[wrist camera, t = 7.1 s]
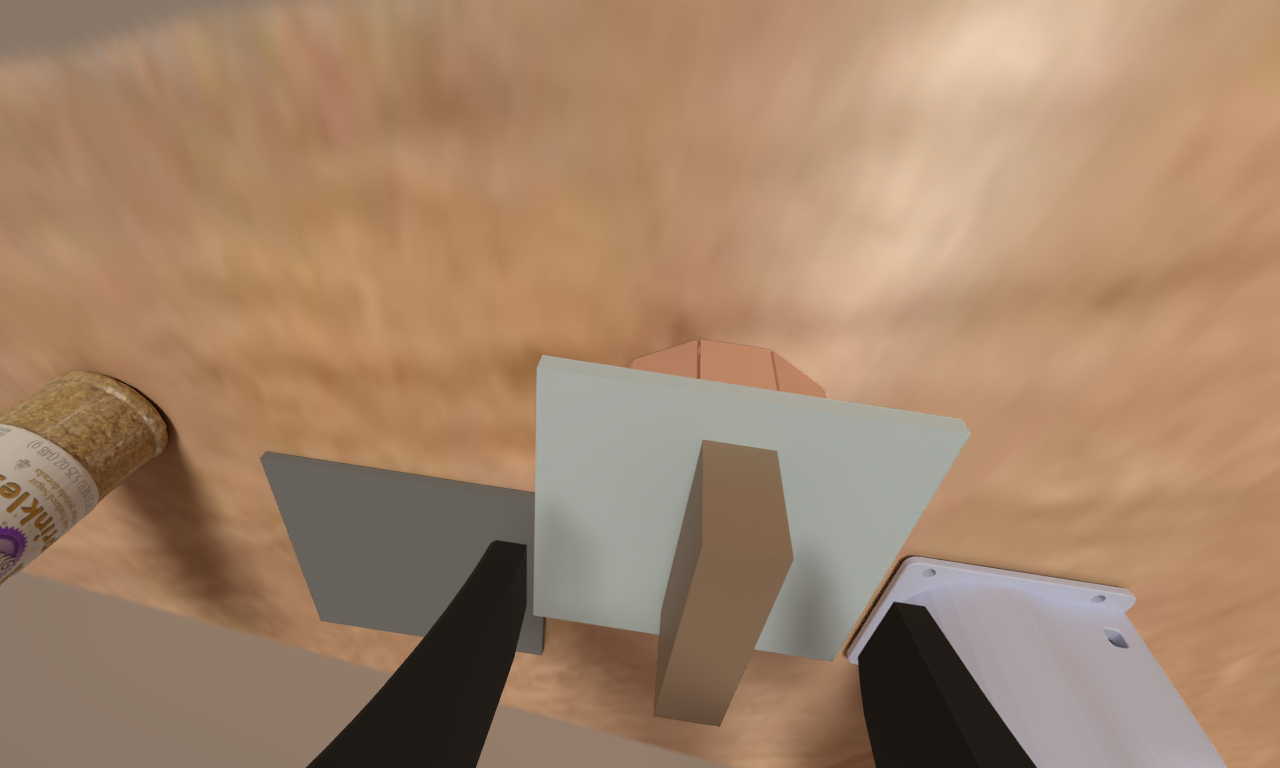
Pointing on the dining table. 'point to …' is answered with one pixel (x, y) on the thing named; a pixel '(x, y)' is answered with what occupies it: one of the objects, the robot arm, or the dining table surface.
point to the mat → (395, 541)
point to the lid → (720, 516)
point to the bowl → (729, 366)
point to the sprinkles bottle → (68, 458)
